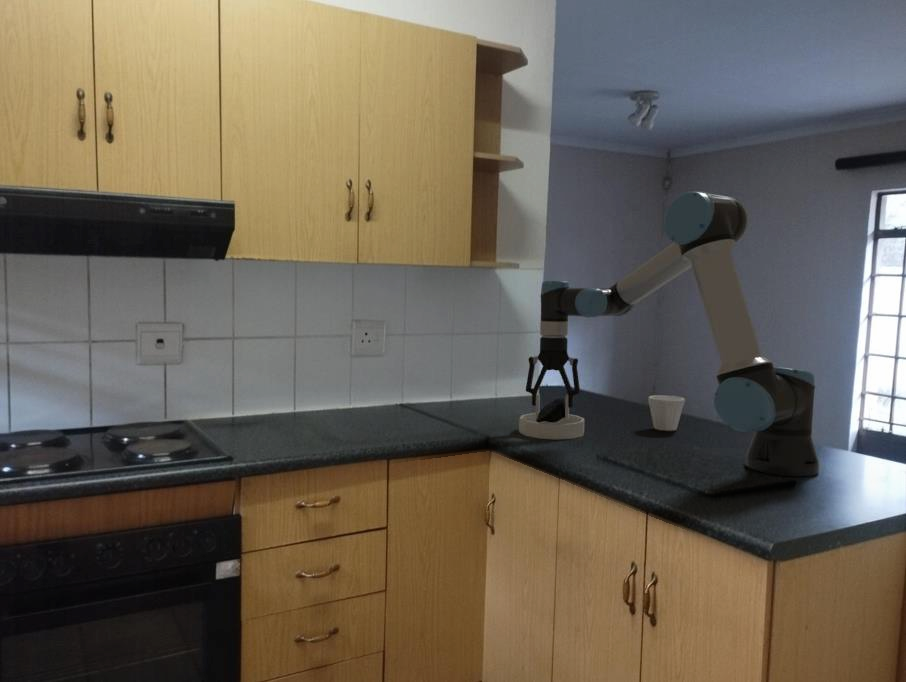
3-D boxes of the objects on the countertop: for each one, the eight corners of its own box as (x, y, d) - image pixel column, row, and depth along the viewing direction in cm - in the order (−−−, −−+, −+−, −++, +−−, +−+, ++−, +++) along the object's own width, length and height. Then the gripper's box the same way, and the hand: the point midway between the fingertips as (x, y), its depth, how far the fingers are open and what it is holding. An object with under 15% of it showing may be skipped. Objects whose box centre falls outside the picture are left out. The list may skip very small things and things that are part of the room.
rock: (533, 422, 194) (533, 401, 194) (543, 415, 203) (543, 395, 203) (558, 424, 191) (558, 402, 191) (567, 417, 201) (567, 397, 200)
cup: (682, 427, 208) (683, 396, 208) (684, 434, 199) (685, 401, 198) (647, 425, 211) (648, 394, 210) (647, 431, 201) (648, 399, 201)
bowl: (581, 441, 188) (581, 426, 188) (515, 436, 193) (515, 422, 192) (585, 428, 205) (586, 414, 205) (525, 424, 210) (525, 411, 209)
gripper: (592, 336, 198) (590, 417, 200) (519, 334, 203) (518, 414, 205) (590, 338, 191) (588, 422, 192) (515, 336, 196) (513, 418, 198)
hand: (552, 418), depth 199 cm, fingers closed on rock, 7 cm apart
